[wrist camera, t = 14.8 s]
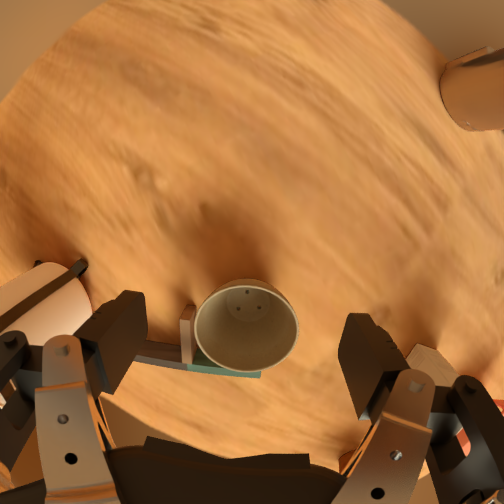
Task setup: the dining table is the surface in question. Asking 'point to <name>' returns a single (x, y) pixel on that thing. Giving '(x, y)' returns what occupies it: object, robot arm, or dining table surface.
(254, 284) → the flower pot
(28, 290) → the coffee press
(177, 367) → the t-shaped slab assembly
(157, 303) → the dining table surface
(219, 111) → the dining table surface
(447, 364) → the skincare box
